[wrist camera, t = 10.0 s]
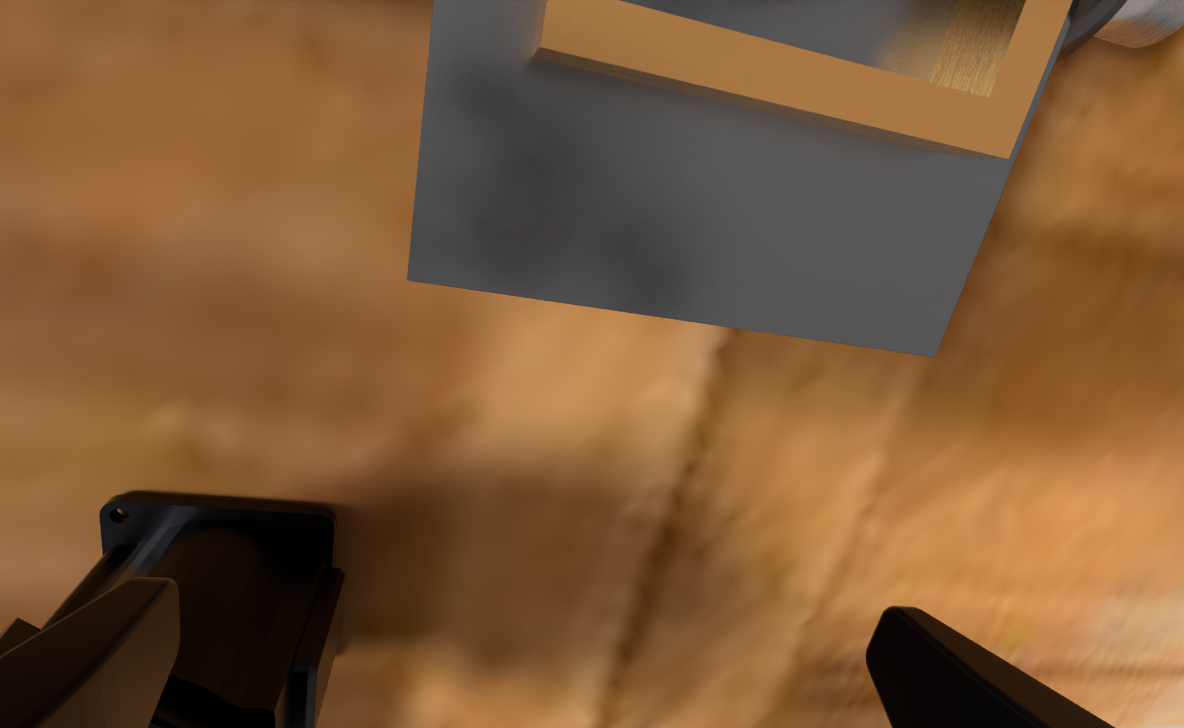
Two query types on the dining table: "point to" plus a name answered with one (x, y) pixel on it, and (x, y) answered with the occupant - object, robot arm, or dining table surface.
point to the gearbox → (737, 152)
